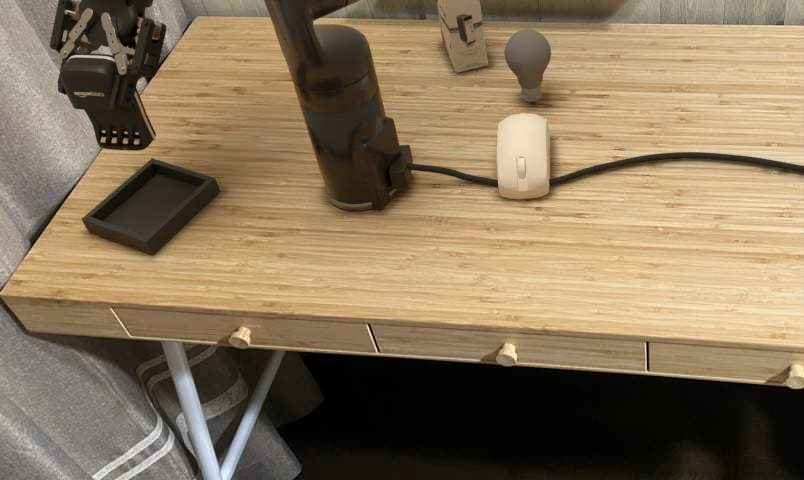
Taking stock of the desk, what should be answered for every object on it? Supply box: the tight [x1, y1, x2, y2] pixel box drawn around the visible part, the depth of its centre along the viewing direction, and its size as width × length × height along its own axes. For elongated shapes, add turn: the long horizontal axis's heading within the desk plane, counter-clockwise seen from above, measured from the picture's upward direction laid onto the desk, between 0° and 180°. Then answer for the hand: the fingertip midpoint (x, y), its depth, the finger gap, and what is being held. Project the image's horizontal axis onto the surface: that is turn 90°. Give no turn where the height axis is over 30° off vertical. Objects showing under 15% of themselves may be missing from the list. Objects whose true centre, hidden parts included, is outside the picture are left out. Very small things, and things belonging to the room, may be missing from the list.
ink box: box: [435, 0, 489, 73], centre depth 139 cm, size 9×5×12 cm, turn 17°
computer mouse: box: [495, 112, 551, 200], centre depth 123 cm, size 6×13×6 cm, turn 0°
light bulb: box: [503, 28, 552, 102], centre depth 131 cm, size 6×6×10 cm
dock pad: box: [81, 157, 221, 256], centre depth 124 cm, size 11×13×2 cm
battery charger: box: [59, 53, 157, 152], centre depth 114 cm, size 7×4×11 cm, turn 80°
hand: (92, 102), depth 112 cm, fingers closed on battery charger, 7 cm apart
